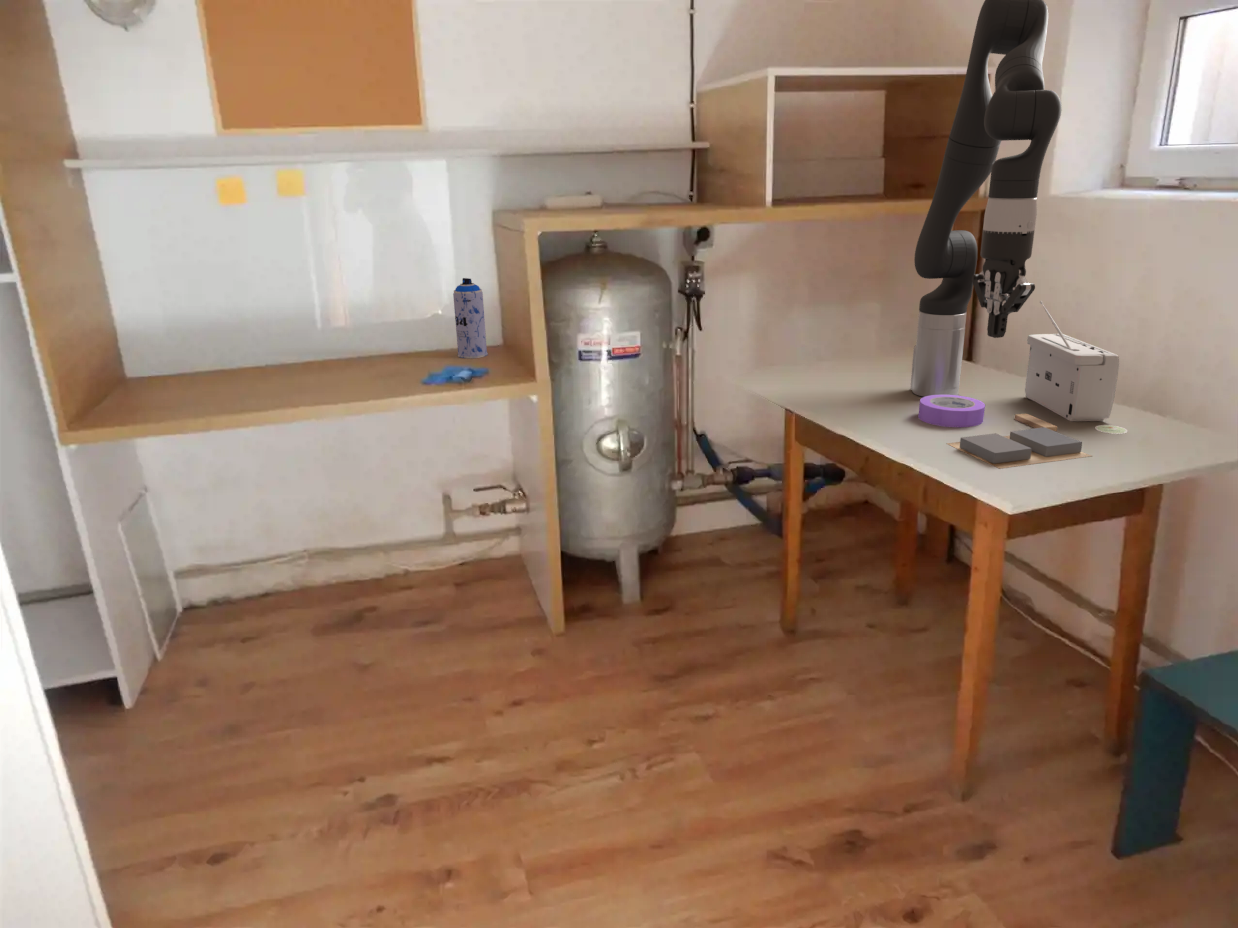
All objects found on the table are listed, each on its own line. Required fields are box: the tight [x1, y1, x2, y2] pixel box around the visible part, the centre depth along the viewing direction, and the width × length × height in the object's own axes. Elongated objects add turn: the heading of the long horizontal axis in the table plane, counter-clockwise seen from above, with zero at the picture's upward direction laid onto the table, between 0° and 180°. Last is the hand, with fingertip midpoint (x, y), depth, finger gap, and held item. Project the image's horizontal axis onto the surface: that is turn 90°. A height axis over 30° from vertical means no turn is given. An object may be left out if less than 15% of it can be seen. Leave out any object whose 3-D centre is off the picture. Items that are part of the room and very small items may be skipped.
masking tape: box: [917, 394, 986, 428], centre depth 173 cm, size 12×12×4 cm
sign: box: [1094, 424, 1128, 435], centre depth 160 cm, size 5×1×15 cm
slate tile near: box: [959, 432, 1032, 464], centre depth 152 cm, size 2×7×9 cm
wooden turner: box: [1014, 413, 1058, 432], centre depth 165 cm, size 14×4×2 cm, turn 12°
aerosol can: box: [452, 277, 489, 359], centre depth 236 cm, size 8×8×20 cm
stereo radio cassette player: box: [1024, 300, 1120, 422], centre depth 175 cm, size 21×8×20 cm, turn 2°
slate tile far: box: [1009, 427, 1083, 457], centre depth 155 cm, size 2×7×9 cm
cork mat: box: [946, 435, 1092, 470], centre depth 155 cm, size 14×18×1 cm
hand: (995, 336), depth 149 cm, fingers closed
